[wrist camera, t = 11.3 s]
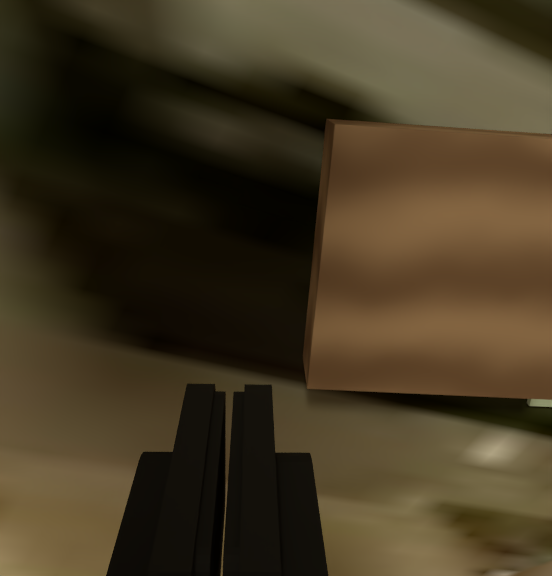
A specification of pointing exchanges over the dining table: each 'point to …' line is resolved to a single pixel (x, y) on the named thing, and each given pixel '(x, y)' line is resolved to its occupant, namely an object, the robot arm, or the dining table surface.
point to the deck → (432, 262)
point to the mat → (539, 402)
